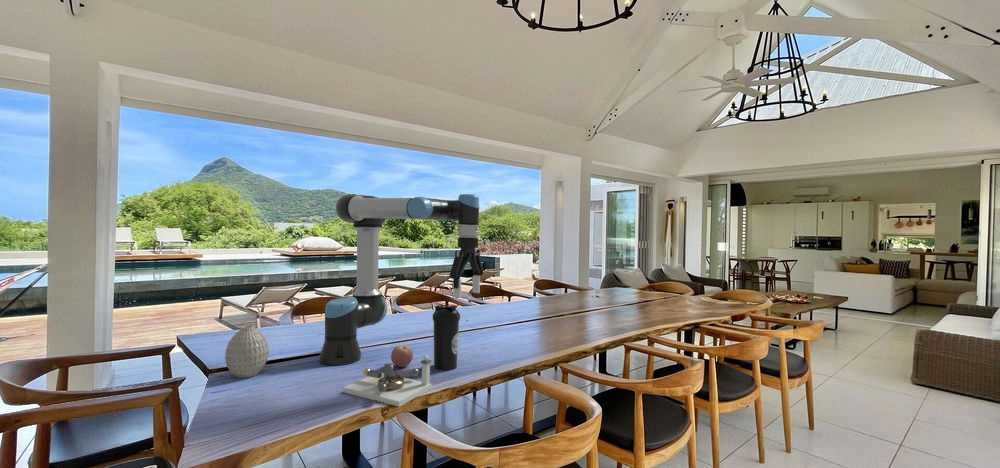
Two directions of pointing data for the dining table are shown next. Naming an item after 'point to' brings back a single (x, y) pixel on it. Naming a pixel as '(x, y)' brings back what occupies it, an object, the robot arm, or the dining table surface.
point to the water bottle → (446, 337)
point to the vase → (246, 352)
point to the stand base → (393, 397)
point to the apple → (402, 355)
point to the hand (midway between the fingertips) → (466, 295)
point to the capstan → (390, 377)
